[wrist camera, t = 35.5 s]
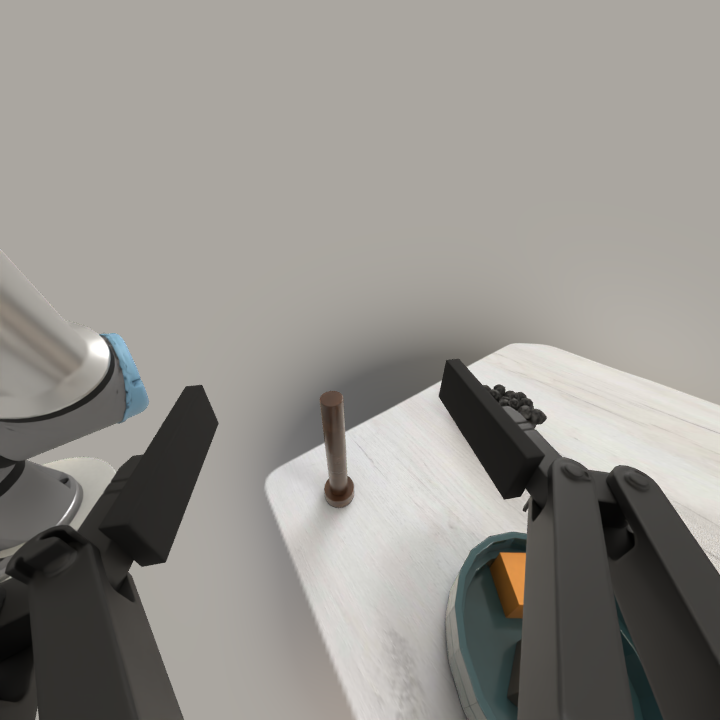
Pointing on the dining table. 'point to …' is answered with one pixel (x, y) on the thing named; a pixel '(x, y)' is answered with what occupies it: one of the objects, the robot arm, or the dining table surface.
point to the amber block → (510, 582)
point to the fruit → (517, 404)
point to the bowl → (506, 639)
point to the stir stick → (335, 450)
